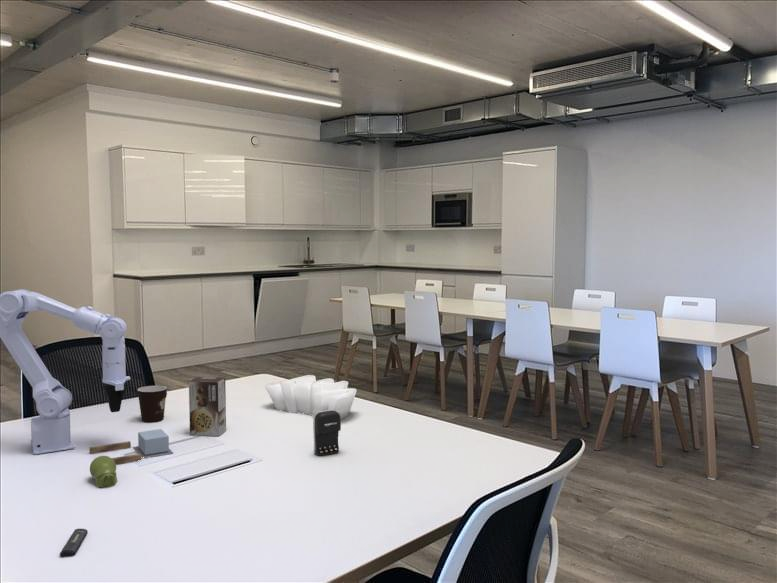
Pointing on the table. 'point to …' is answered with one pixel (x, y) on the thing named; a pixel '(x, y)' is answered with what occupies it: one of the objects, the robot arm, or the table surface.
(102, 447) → the chute
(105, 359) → the robot arm
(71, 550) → the usb stick
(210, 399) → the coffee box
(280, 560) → the table surface
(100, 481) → the pear
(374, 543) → the table surface
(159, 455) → the mat
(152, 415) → the coffee mug
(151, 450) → the block
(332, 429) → the battery charger
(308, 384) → the white wavy slab sculpture
